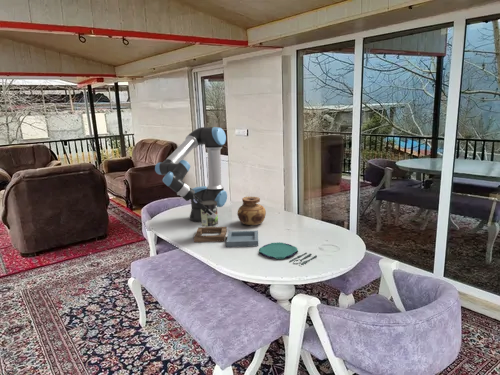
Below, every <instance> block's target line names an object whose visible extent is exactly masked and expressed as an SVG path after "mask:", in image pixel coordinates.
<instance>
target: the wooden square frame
mask: <svg viewBox="0 0 500 375" xmlns="http://www.w3.org/2000/svg"><path fill="white" fill-rule="evenodd" d="M227 232H228V229H227V226H215V227H203V226H200V227H198V228H197V230H196V232H195V235H194V236H193V241H194V243H210V242H211V243H212V242H213V243H214V242H225V240H226V238H227V237H226V236H227ZM217 233H218V234H217ZM219 233H220V234H219ZM202 234H207V235H202ZM209 234H214V235H209Z"/></svg>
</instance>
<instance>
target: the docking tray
mask: <svg viewBox="0 0 500 375" xmlns="http://www.w3.org/2000/svg"><path fill="white" fill-rule="evenodd" d="M227 232H228V233H227V237H226V238H227V239H226V247H227V248H236V247H237V248H239V247H240V248H242V247H259V230H238V231H237V230H229V231H227Z"/></svg>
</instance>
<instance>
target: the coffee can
mask: <svg viewBox="0 0 500 375" xmlns="http://www.w3.org/2000/svg"><path fill="white" fill-rule="evenodd" d="M201 203H202V204H203V205H204V206H206V207H207V208H208V209H210V210H211V211H212V212H213V213H215V214H216V215H217V217H216V218H215V219H213V218H212V217H211V216H210V215H208V214H207V213H206V214H205V212H204V211H203V210H202V209H201V221H202V222H201V227H218V225H219V218H218V217H219V216H218V213H219V212H218V207H217V202H216V201H212V200H209V201H203V202H201Z"/></svg>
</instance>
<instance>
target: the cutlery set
mask: <svg viewBox="0 0 500 375" xmlns="http://www.w3.org/2000/svg"><path fill="white" fill-rule="evenodd" d="M298 252H299V250H298V248H297V246H294V245H292V244H289V243H286V242H285V243H284V242H270V243H268V244H265V245H263V246H261V247H259V248H258V253H259V254H262V255H263V256H265V257H266V258H267V257H268V258H270V259H276V260H284V259H285V258H291V257H293V256H294V255H296V254H297V253H298ZM304 255H305V256H304ZM312 255H313V254H312V253H309V254H308V252H305V253H302V254H300V255H298V256H296V257H294V258H292V259H290V260H289V263H291V262H293V264H295V265H297V264H298V263H299V264H301V265H303V266H305V265H307V264H308V262H310V260H311V261H312V260H314V259H316V258H317V257H318V256H317V255H316V254H315V255H314V256H312ZM302 256H304V257H302ZM310 256H312V257H311V258H310V259H307V258H308V257H310ZM301 257H302V258H301ZM300 258H301V259H300ZM305 259H307V260H305ZM298 260H300V261H298ZM295 261H296V262H297V261H298V262H297V263H296V262H295ZM294 262H295V263H294ZM306 263H307V264H306ZM299 264H298V265H299ZM304 264H305V265H304Z"/></svg>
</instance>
